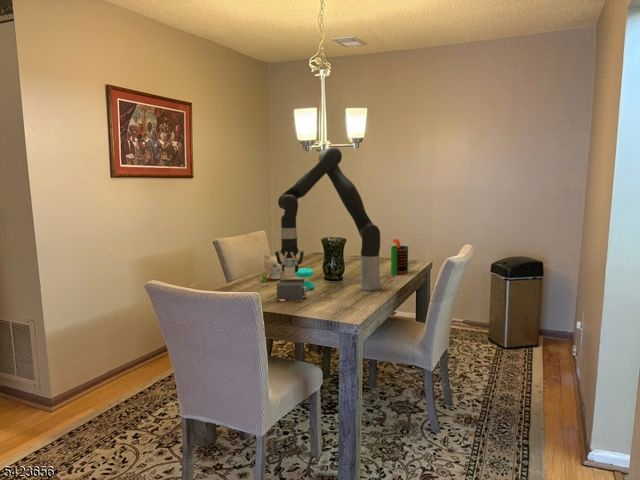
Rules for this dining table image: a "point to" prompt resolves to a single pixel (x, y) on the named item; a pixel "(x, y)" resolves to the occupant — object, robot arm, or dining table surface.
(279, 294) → the motor housing
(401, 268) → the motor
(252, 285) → the dining table surface
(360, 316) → the dining table surface
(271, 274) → the kitten
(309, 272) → the donuts
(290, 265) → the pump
